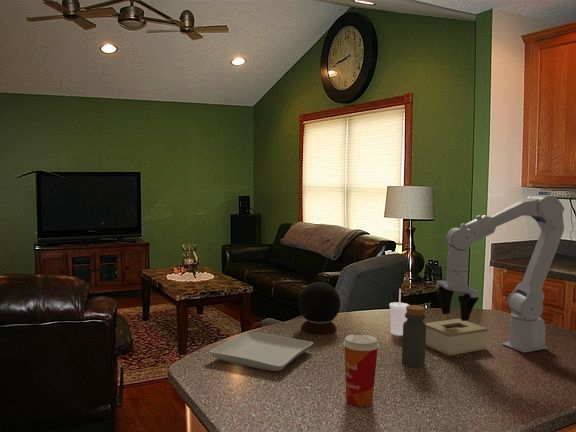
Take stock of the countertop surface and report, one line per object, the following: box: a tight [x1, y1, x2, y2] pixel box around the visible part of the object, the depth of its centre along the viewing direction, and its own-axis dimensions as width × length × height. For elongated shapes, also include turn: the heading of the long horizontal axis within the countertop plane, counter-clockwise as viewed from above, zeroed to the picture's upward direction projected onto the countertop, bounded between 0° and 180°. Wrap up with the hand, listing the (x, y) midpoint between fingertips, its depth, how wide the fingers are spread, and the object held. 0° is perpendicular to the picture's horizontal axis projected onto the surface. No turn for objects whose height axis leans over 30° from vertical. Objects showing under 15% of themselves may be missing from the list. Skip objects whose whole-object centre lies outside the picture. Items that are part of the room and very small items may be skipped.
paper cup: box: [342, 333, 380, 408], centre depth 115 cm, size 8×8×14 cm
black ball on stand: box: [298, 281, 341, 336], centre depth 168 cm, size 13×13×15 cm
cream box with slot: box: [424, 318, 488, 356], centre depth 154 cm, size 14×11×6 cm
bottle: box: [401, 304, 427, 368], centre depth 139 cm, size 6×6×15 cm
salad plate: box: [208, 331, 314, 372], centre depth 142 cm, size 21×21×3 cm
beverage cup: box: [389, 288, 410, 336], centre depth 165 cm, size 6×6×14 cm
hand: (455, 317), depth 153 cm, fingers open, 7 cm apart
